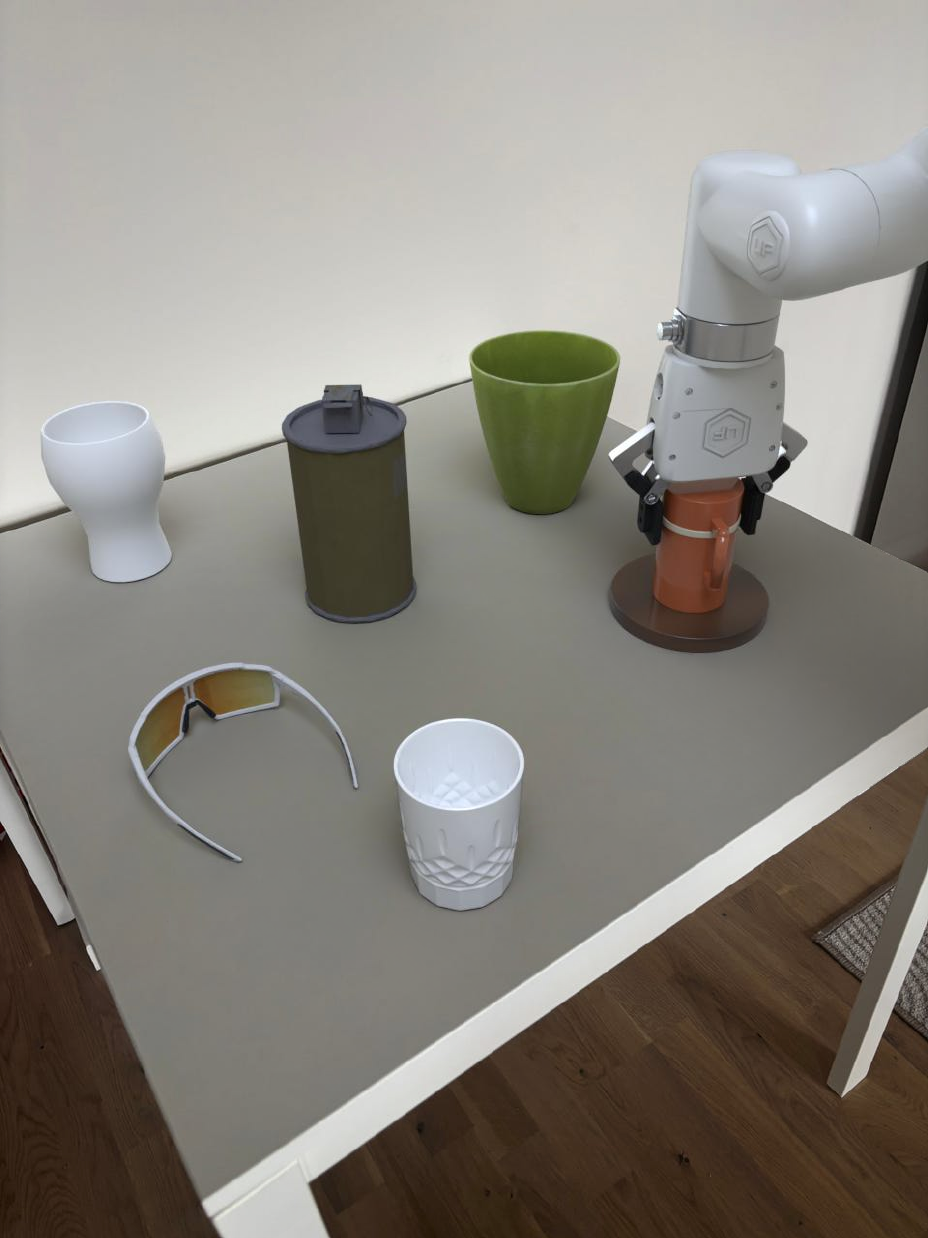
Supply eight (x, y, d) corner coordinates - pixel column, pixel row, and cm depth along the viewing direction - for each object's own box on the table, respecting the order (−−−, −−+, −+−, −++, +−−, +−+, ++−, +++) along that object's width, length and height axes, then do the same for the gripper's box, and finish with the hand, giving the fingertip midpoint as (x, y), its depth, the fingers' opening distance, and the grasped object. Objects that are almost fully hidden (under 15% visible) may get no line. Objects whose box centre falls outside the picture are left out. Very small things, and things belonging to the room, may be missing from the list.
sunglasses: (266, 679, 81) (262, 636, 77) (380, 792, 73) (381, 749, 70) (107, 763, 73) (96, 718, 70) (215, 899, 65) (208, 856, 62)
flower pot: (533, 454, 114) (536, 319, 105) (637, 495, 105) (650, 352, 96) (443, 500, 105) (438, 357, 96) (548, 548, 97) (553, 397, 87)
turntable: (800, 623, 86) (803, 609, 85) (672, 671, 81) (674, 657, 80) (699, 550, 96) (700, 537, 95) (580, 589, 91) (580, 576, 90)
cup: (193, 578, 94) (161, 435, 85) (78, 601, 91) (33, 455, 82) (180, 526, 102) (150, 391, 93) (74, 546, 99) (33, 408, 90)
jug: (748, 623, 84) (769, 511, 77) (673, 632, 83) (687, 520, 76) (705, 559, 92) (720, 453, 85) (635, 566, 91) (646, 460, 85)
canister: (413, 623, 87) (400, 415, 75) (297, 624, 87) (266, 417, 76) (419, 558, 96) (408, 363, 84) (314, 560, 96) (289, 365, 84)
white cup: (386, 847, 66) (375, 739, 60) (491, 811, 69) (491, 704, 63) (429, 937, 60) (421, 826, 54) (542, 894, 63) (546, 784, 57)
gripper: (628, 359, 70) (612, 565, 80) (856, 340, 72) (811, 544, 82) (600, 324, 76) (588, 520, 86) (811, 308, 78) (774, 501, 88)
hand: (697, 531), depth 84 cm, fingers open, 7 cm apart
